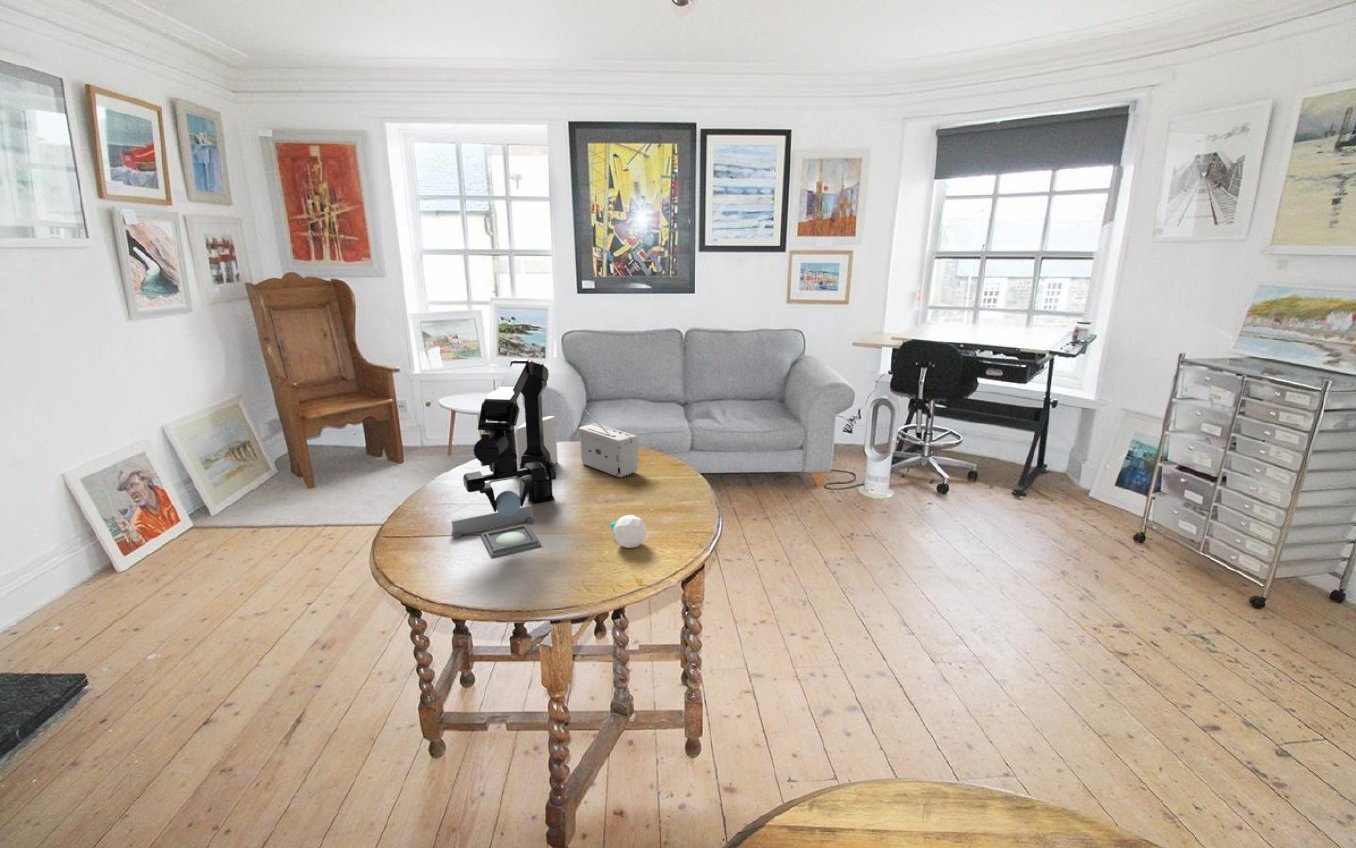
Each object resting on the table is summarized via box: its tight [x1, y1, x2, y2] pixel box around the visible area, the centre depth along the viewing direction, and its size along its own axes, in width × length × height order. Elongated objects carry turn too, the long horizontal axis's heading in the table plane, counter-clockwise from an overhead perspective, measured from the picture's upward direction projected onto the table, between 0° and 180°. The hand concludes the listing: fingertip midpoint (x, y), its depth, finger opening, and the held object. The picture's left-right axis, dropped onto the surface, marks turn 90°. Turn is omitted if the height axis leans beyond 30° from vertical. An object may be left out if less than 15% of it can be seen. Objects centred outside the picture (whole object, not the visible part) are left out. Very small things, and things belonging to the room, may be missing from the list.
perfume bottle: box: [610, 514, 647, 549], centre depth 146 cm, size 8×8×12 cm
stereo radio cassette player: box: [578, 407, 639, 478], centre depth 192 cm, size 21×8×20 cm, turn 49°
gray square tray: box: [480, 523, 542, 558], centre depth 147 cm, size 12×12×1 cm
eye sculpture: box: [515, 415, 559, 470], centre depth 193 cm, size 17×12×16 cm
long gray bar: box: [451, 503, 535, 539], centre depth 154 cm, size 20×4×4 cm, turn 119°
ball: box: [495, 490, 521, 516], centre depth 144 cm, size 6×6×6 cm
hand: (508, 508), depth 144 cm, fingers closed on ball, 6 cm apart
